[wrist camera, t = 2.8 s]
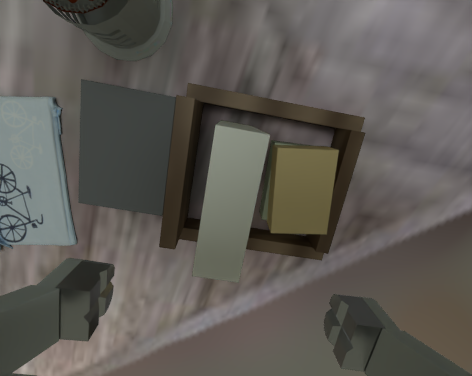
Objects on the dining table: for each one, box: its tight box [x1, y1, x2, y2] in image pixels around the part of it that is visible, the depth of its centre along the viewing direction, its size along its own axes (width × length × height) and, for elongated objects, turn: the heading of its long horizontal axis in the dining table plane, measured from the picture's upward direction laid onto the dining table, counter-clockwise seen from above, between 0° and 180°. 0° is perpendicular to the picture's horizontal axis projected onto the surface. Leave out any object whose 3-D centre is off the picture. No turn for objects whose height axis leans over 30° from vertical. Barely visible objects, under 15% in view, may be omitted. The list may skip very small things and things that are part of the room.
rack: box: [159, 83, 365, 260], centre depth 28 cm, size 18×17×8 cm
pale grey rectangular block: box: [192, 120, 270, 283], centre depth 25 cm, size 4×11×14 cm, turn 170°
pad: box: [79, 79, 176, 216], centre depth 30 cm, size 10×14×1 cm
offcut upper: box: [267, 145, 339, 234], centre depth 28 cm, size 6×9×3 cm, turn 178°
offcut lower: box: [259, 140, 311, 220], centre depth 31 cm, size 6×9×3 cm, turn 172°
